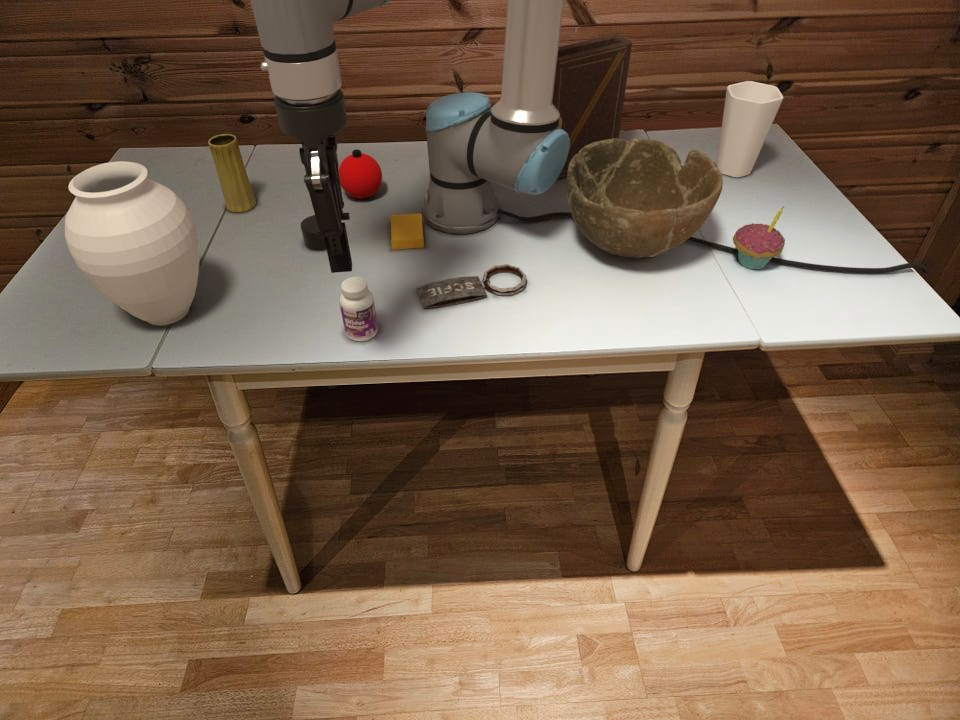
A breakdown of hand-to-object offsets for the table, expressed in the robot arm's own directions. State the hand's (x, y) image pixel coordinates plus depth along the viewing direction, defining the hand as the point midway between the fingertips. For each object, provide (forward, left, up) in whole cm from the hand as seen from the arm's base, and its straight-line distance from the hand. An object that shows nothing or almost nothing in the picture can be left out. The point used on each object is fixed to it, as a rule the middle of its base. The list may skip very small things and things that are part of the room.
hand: (341, 268), depth 88 cm
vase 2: (+26, -51, -19) cm, 60 cm away
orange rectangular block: (-8, -36, -18) cm, 41 cm away
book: (-45, -59, -19) cm, 76 cm away
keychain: (-19, -17, -19) cm, 32 cm away
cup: (-80, -53, -19) cm, 98 cm away
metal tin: (+8, -36, -18) cm, 41 cm away
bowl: (-50, -28, -19) cm, 60 cm away
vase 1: (+33, -17, -19) cm, 42 cm away
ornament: (+1, -52, -19) cm, 55 cm away
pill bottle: (0, -8, -19) cm, 20 cm away
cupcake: (-70, -19, -19) cm, 75 cm away
